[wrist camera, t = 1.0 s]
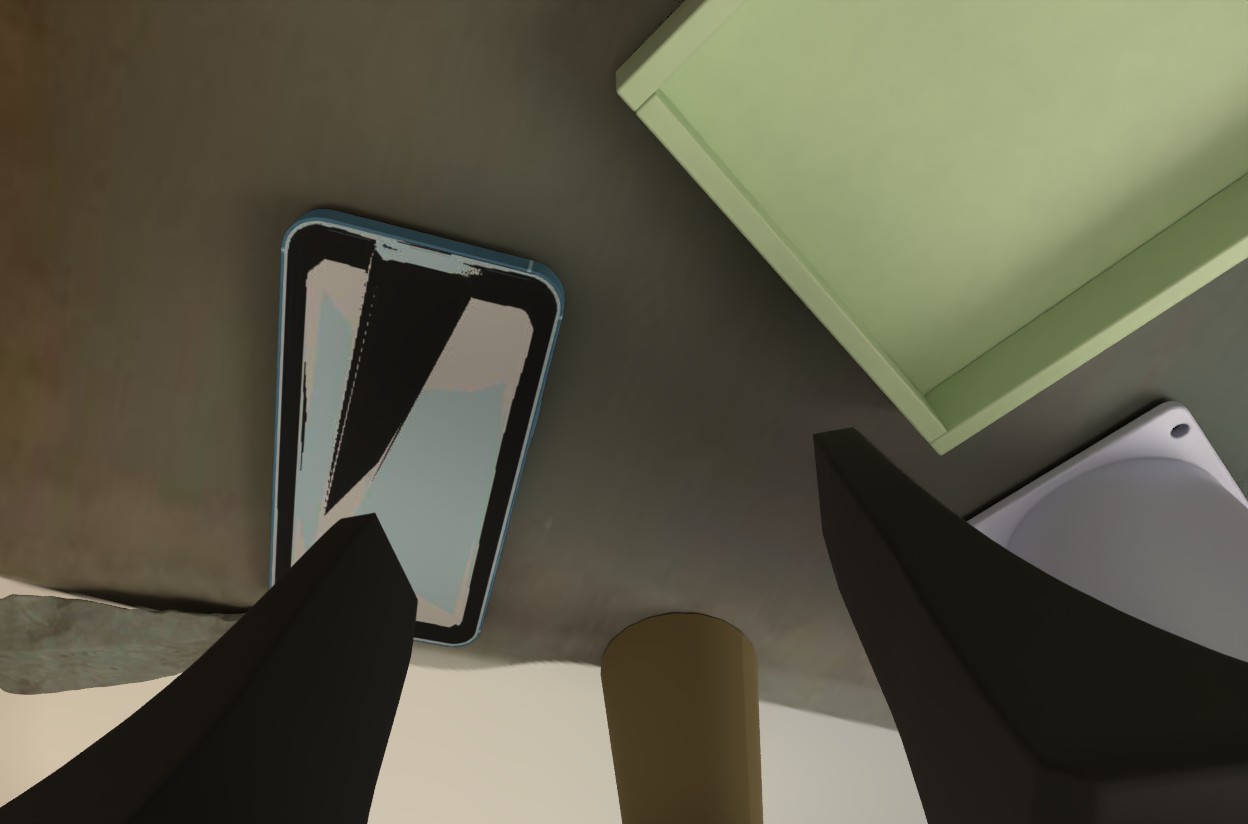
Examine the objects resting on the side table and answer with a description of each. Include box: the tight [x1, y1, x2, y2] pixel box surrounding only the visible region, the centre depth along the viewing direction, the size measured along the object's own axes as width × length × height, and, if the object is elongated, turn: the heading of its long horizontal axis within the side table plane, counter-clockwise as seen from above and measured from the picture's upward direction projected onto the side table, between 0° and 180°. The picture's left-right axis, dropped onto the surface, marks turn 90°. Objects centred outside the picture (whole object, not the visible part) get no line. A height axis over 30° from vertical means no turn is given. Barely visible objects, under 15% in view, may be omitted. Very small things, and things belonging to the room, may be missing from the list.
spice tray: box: [616, 0, 1248, 455], centre depth 18 cm, size 13×14×2 cm
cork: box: [601, 613, 763, 824], centre depth 25 cm, size 6×6×11 cm
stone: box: [0, 594, 246, 695], centre depth 28 cm, size 11×2×5 cm
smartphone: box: [269, 209, 565, 647], centre depth 24 cm, size 7×1×15 cm
